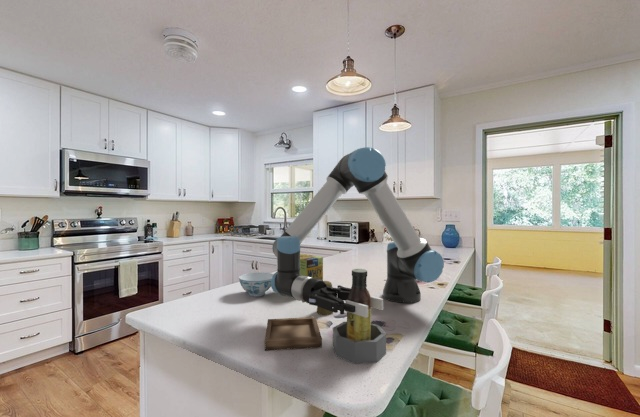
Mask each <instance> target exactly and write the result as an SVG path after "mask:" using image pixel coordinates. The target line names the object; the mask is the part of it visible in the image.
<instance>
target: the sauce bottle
mask: <svg viewBox="0 0 640 417" xmlns="http://www.w3.org/2000/svg"><path fill="white" fill-rule="evenodd" d="M351 276H352V277H351V278H352V279H351V290H350V293H349V296H348V298H347V300H349V301H353V302H356V303H360V304H364V305H367V306H368V317H367V318H366V317H363V316H359V315H356V314H353V313H350V312H346V322H347V338H348V339H351V340H354V341H365V340H370V332H371V322H372V320H371V319H372V307H371V297H370V296H371V294H370V291H369V290H368V289H367V286H368V284H367V278H368V270H367V269H365V268H354V269H353V268H352V270H351Z"/></svg>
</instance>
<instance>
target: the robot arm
mask: <svg viewBox="0 0 640 417" xmlns="http://www.w3.org/2000/svg"><path fill="white" fill-rule="evenodd" d="M386 163H387V162H386V159H385V157H384V156H383V154H382V153H381V152H380V151H379V150H377V149H376V148H373V147H367V146H366V147H360V148H357V149H354V150H353V151H352V152H350V153H347V154H345V155H344V156H343V157H342V158H340V160H339V161H338V162H337V163H336V165H335V166H334V167H333V169H332V171H331V172H329V174H328V175H327V177H326V182H325V183H324V184H323V186H322V187H321V188H320V189H319V190H318V191H317V193H315V195H314V196H313V197H312V199H310V201H309V202H308V203H307V204H306V206H305V207H304V208H303V209H302V210H301V211H300V213H299V214H298V215H297V216H296V218H294V220H293V221H292V222H291V223H290V225H289V226H288V227H287V228H286V229H285V231H284V232H283V233H282V234H281V235H280V237H278V238H276V239H275V240H274V241H273V243H272V248H271V249H272V253H273V254H274V256H275V257H276V259H277V260H276V263H277V268H276V272H274V273H273V274H274V275H273V276H272V280H271V287H270V289H272V291H273V292H274V293H276V294H278V295H281V296H283V297H288V298H290V299H294V300H297V301H299V302H300V301H301V302H302V303H306V304H309V306H315V307H317V306H318V307H321V308H323V309H326V310H329V311H331V312H333V314H334V313H335V314H336V313H338V312H339V315H344V314H345V313H347V312H350V313H353V314H356V315H359V316H363V317H366V318H367V317H368V306H367V305H364V304H360V303H356V302H353V301H349V300H347V298H348V296H349V293H350V290H351V288H350V287H346V286H345V287H344V286H343V285H337V287H333V286H332V287H330V286H326V284H325V282H324V281H325V280H323V281H322V280H320V279H315V278H312V277H307V276H302V275H300V254H301V247H302V246H301V243H303V241H304V240H305V239H306V238H307V236H309V234H310V233H311V232H312V230H313V229H314V228H315V227H316V226H317V225H318V223H319V222H320V221H321V220H322V218H324V217H325V215H326V214H327V213H328V211H329V210H330V209H331V208H332V207H333V205H334V204H335V203H336V202H337V200H338V199H339V198H340V197H341V196H342V195H345V194H347V193H348V191H349V190H350V189H352V188H353V187H354V188H355V189H356V191H357V192H358V194H360V195H363V196H365V197H366V199H367V200H368V202H369V203H370V205H371V207H372V208H373V210H374V212H375V213H376V214H377V217H378V218H379V220H380V221H381V224H383V226H384V227H385V230H386V231H387V233H388V234H389V236H390V238H391V239H392V241H393V242H389V243H388V244H387V248H386V271H387V272H386V280H385V283H384V286H383V289H382V296H383V298H380V297H377V296H373V295H370V297H371V309H372V308H373V309H377V310H380V311H383V310H384V299H385V300H387V301H391V302H396V303H406V304H408V303H410V304H411V303H416V302H419V301H421V297H422V296H421V291H420V288H419V285H418V282H421V283H422V282H423V283H428V284H429V283H432V282H433V283H434V282H435V281H437V279H439V278H440V276H441V275H442V273H443V269H444V268H445V267H444V266H445V262H444V257H443V256H442V255H441V253H439V252H438V251H437V250H433V249H432V248H431V245H430V244H429V243H428V241H427V240H426V239H425V238H424V237H419V235H418V233H417V231H416V229H415V228H414V226H413V225H412V223H411V222H410V219H409V218H408V215H407V214H406V213H405V211H404V209H403V208H402V205H401V204H400V202H399V201H398V200H397V199H398V198H396V196H395V195H394V193H393V191H392V189H391V188H390V186H389V184H388V178H389V175H388V173H387V172H386V166H387V165H386ZM332 307H333V308H332Z"/></svg>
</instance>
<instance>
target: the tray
mask: <svg viewBox="0 0 640 417" xmlns="http://www.w3.org/2000/svg"><path fill="white" fill-rule="evenodd" d="M266 322H267V323H266V330H265V331H266V332H265V337H264V351H265V352H269V351H284V350H285V351H287V350H301V349H303V350H304V349H318V348H322V347H323V346H322V345H323V339H322V334H321V330H320V328H319V324H318V320H317V317H316V316H309V317H308V316H307V317H289V318H287V317H286V318H284V317H283V318H267V321H266Z"/></svg>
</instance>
